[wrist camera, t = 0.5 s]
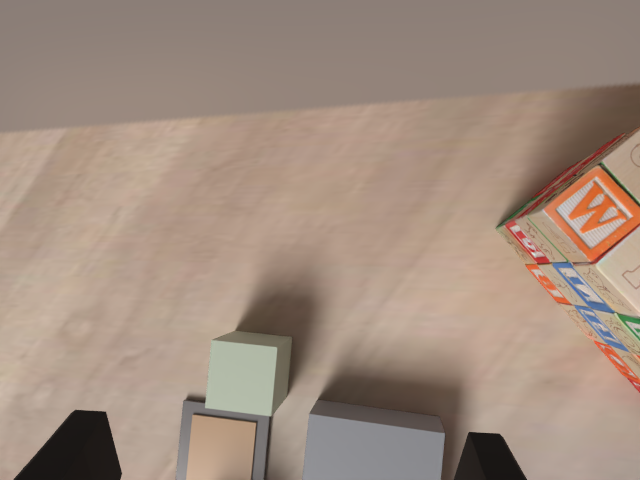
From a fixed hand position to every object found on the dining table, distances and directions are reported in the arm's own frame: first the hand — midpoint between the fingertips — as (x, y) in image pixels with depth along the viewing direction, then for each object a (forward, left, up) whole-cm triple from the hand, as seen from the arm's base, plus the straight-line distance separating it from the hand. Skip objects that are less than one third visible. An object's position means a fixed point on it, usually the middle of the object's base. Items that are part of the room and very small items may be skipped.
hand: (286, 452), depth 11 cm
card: (-9, +8, -26) cm, 28 cm away
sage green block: (-3, +6, -26) cm, 27 cm away
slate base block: (-9, -2, -26) cm, 27 cm away
